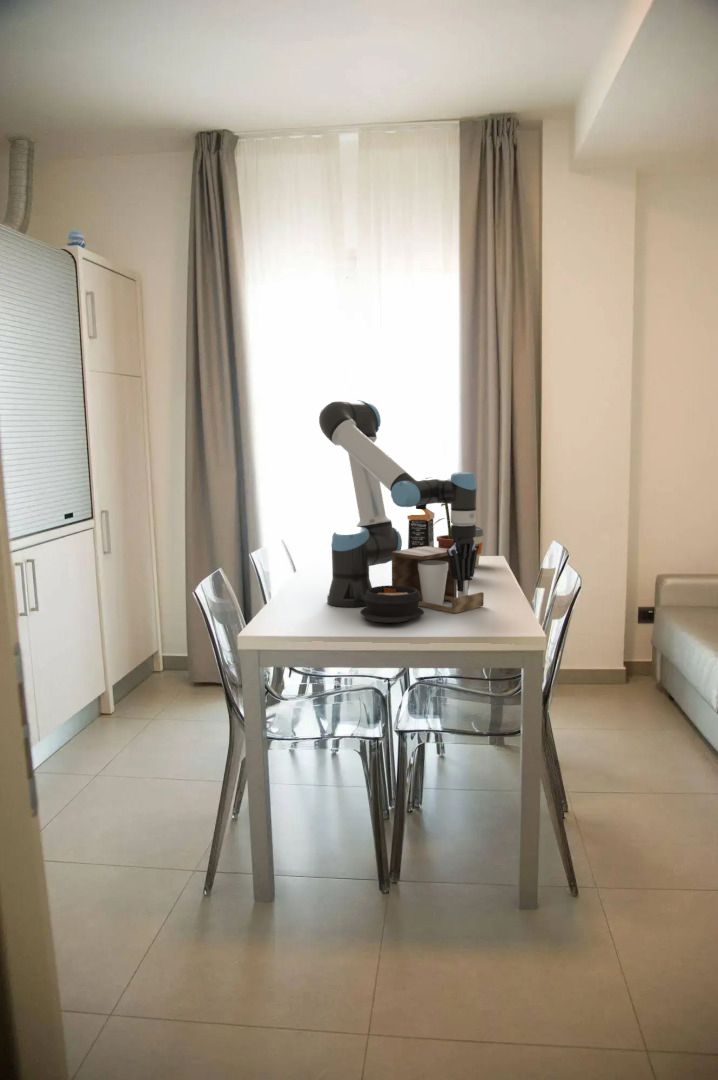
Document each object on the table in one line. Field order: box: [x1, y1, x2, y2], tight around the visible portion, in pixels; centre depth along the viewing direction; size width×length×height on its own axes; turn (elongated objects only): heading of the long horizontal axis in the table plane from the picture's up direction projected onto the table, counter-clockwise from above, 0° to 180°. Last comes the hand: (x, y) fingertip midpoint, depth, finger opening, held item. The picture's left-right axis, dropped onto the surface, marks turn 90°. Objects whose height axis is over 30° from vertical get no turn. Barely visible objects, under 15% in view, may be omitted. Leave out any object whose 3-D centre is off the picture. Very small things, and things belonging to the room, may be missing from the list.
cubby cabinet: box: [391, 546, 458, 598], centre depth 258 cm, size 16×13×16 cm
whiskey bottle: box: [407, 504, 435, 549], centre depth 332 cm, size 10×10×32 cm
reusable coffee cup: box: [473, 526, 484, 568], centre depth 322 cm, size 13×13×15 cm
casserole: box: [360, 584, 425, 624], centre depth 236 cm, size 25×19×8 cm
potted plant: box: [430, 503, 453, 549], centre depth 298 cm, size 17×16×35 cm
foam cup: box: [418, 560, 448, 606], centre depth 255 cm, size 10×9×13 cm
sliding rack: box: [418, 590, 485, 614], centre depth 252 cm, size 14×20×4 cm
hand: (462, 601), depth 247 cm, fingers closed
